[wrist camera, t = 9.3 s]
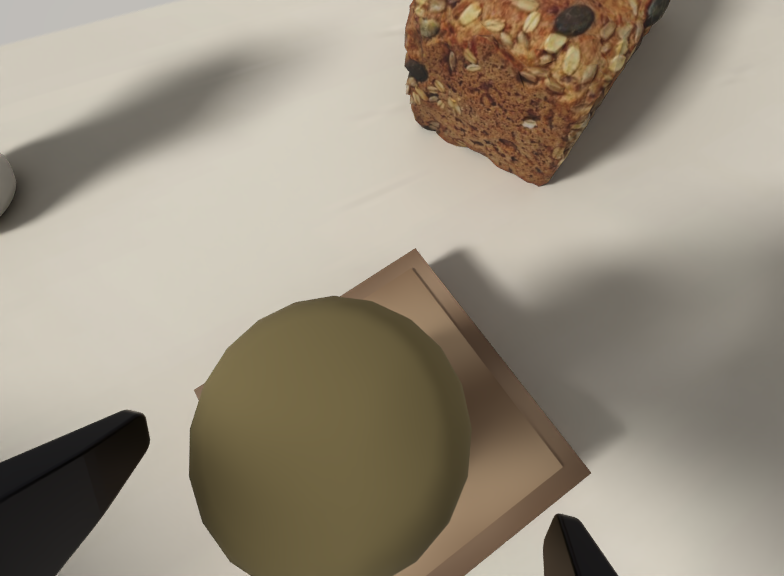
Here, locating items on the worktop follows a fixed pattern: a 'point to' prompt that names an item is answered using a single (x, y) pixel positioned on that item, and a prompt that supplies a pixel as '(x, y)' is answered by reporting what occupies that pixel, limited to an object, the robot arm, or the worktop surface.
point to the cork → (329, 442)
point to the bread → (519, 72)
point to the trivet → (479, 426)
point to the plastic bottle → (6, 184)
